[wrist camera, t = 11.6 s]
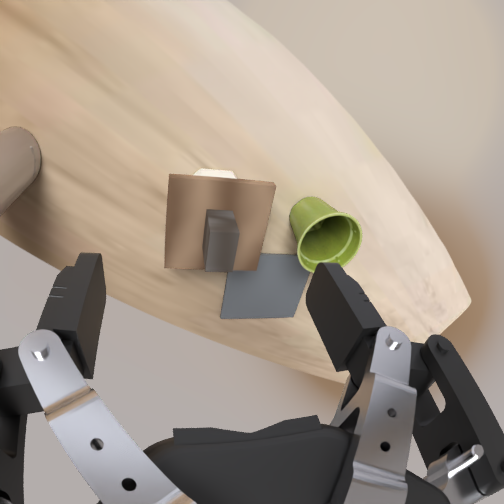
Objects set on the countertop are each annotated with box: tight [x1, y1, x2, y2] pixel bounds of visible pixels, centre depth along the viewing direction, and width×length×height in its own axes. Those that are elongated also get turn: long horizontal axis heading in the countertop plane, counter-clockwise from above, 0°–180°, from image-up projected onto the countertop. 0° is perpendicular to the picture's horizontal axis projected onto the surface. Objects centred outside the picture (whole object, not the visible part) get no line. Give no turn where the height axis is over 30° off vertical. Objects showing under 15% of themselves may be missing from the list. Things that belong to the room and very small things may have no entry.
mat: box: [220, 253, 310, 319], centre depth 53 cm, size 14×14×1 cm
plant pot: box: [290, 197, 362, 273], centre depth 43 cm, size 9×9×9 cm
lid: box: [164, 174, 276, 272], centre depth 35 cm, size 12×12×6 cm
